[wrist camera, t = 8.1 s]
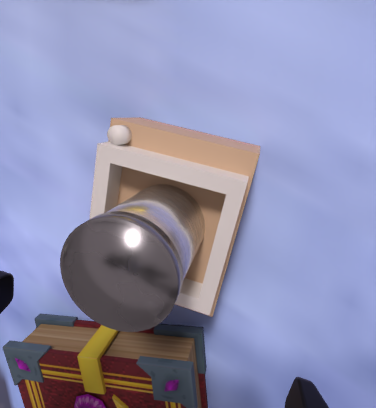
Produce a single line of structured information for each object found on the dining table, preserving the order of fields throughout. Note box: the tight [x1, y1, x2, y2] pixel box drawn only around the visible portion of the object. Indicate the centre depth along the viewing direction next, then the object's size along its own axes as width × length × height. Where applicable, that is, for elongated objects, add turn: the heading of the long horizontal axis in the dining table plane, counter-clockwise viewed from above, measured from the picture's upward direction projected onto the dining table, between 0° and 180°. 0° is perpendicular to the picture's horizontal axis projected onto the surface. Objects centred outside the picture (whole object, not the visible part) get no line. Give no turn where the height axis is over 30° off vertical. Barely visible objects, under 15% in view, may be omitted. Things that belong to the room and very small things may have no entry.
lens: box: [60, 184, 205, 332], centre depth 14 cm, size 5×5×6 cm
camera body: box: [90, 118, 260, 317], centre depth 18 cm, size 10×8×6 cm
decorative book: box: [3, 314, 208, 408], centre depth 24 cm, size 11×16×5 cm
